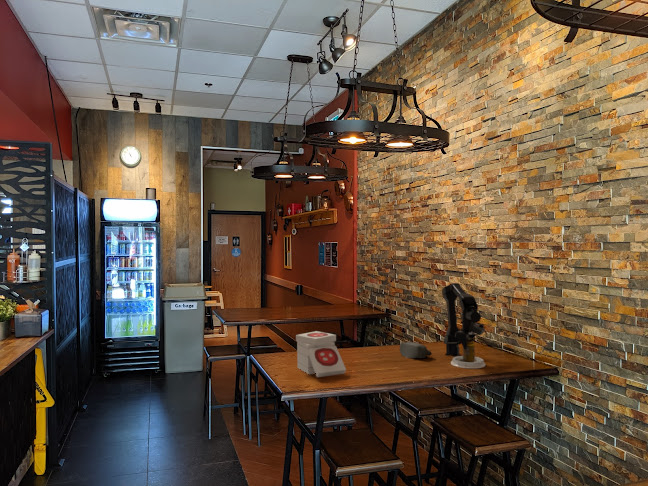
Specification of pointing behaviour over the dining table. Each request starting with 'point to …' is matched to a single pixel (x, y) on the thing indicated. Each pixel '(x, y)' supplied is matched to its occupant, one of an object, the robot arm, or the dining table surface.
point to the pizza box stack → (319, 354)
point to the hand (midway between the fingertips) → (467, 348)
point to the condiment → (469, 352)
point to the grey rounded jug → (414, 350)
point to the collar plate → (473, 365)
